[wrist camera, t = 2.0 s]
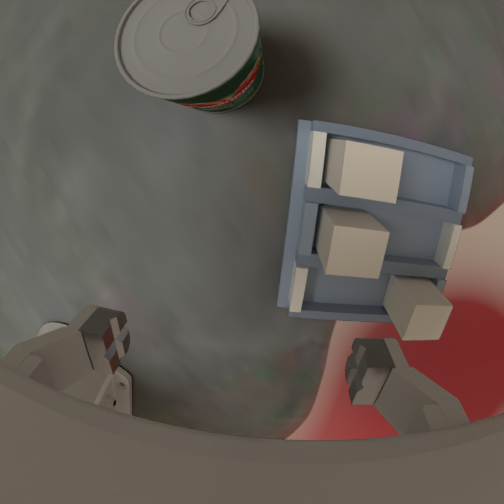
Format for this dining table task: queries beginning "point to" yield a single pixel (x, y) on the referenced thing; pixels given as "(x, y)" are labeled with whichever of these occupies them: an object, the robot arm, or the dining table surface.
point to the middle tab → (350, 242)
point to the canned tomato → (192, 51)
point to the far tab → (416, 307)
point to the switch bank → (387, 214)
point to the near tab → (363, 170)
